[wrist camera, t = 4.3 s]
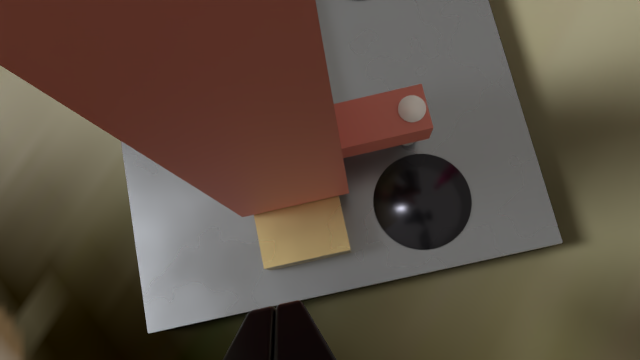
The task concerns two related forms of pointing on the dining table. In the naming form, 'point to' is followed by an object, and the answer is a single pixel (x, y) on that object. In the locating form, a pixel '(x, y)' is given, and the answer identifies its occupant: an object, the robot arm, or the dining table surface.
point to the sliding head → (210, 91)
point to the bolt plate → (361, 179)
